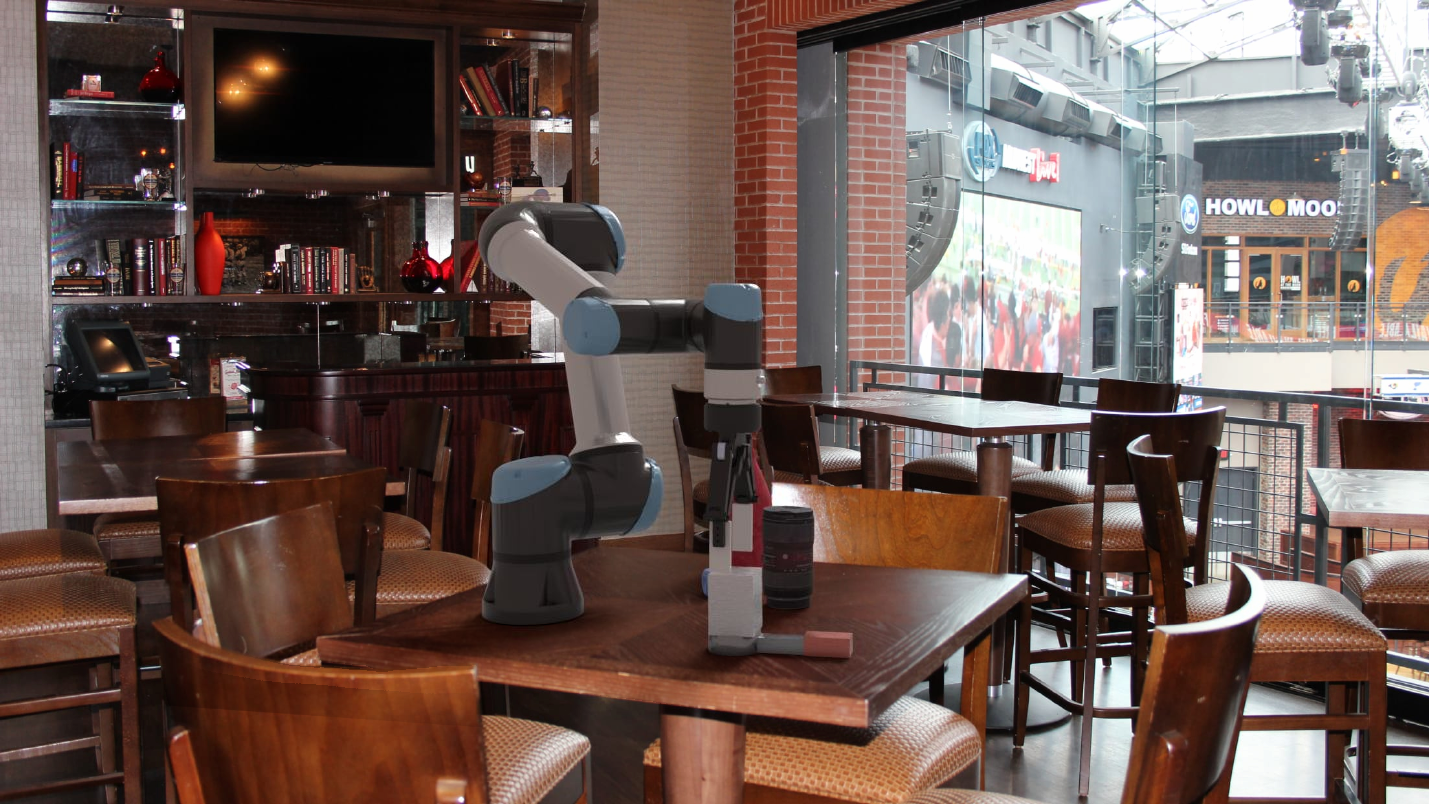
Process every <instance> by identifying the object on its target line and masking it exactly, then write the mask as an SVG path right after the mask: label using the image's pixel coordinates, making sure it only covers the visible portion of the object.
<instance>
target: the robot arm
mask: <svg viewBox="0 0 1429 804" xmlns="http://www.w3.org/2000/svg"><path fill="white" fill-rule="evenodd" d="M478 234H479V235H478V241H477V243H478V245H477V246H478V252H479V254H480V257H481V260H482V262H483V263H484V264H485V266H486V268H488V270H490V272H492V273H493V274H494V275H495V276H497V277H498V278H499V279H500V280H503V281H504V282H508V283H515V284H516V285H517V286H519V288H521V289H522V290H523V291H524V292H526V293H527V294H528V295H529V296H530V297H532V298H533V299H534V300H535V301H536V302H537V303H539V304H540V305H541V306H542V307H544V308H545V309H546V310H547V311H549V312H550V313H551V314H552V315H553V316H555V317H556V318H557V319H558V325H559V330H560V332H559V333H560V337H561V338H560V339H561V345H562V352H563V357H564V364H565V372H566V380H567V385H568V393H569V399H570V407H571V413H572V419H573V420H572V421H573V426H574V427H573V428H574V434H575V439H576V440H575V441H576V444H575V446H574V447H573V449H572V450H571V451H570V453H569V454H568V457H567V456H566V455H563V454H562V455H561V454H547V455H542V456H538V455H537V456H532V457H531V456H530V457H526V458H521V459H520V458H519V459H516V460H512V461H509V462H507V463H503V464H501V465H500V466H498V467H497V468H496V469H495V470H494V472H493V474H492V478H491V492H490V493H491V494H490V502H491V527H492V528H491V531H492V532H491V533H492V567H491V571H490V573H489V577H488V581H487V584H486V587H485V591H484V595H483V596H482V600H481V614H482V615H481V616H482V618H483V619H485V620H486V621H489V622H492V623H497V624H502V625H504V624H505V625H512V626H513V625H518V626H527V625H528V626H530V625H545V624H554V623H561V622H564V621H565V622H566V621H569V620H573V619H577V618H578V617H580V616H581V615H582V614H584V611H585V604H584V603H585V602H584V595H583V592H582V589H581V586H580V584H579V580H578V577H577V575H576V571H575V569H574V566H573V561H572V541H576V540H578V541H579V540H585V539H587V540H588V539H592V538H593V539H594V538H604V537H613V536H619V537H624V536H627V535H630V534H634V533H636V534H637V533H642V532H644V531H646V530H648V529H650V528H651V527H652V526H653V525H654V523H655V522H656V520H657V519H658V517H659V513H660V512H661V510H662V506H663V503H664V502H663V501H664V492H665V490H664V488H665V485H664V484H665V483H664V477H663V474H662V470H661V468H660V467H659V465H658V463H657V462H656V461H655V460H654V459H653V458H649V457H647V456H645V454H644V448H643V443H641V442H640V441H639V440H637V439H636V438H634V437H633V436H632V433H631V427H630V422H629V421H630V420H629V415H628V409H627V408H628V407H627V401H626V394H625V389H624V382H623V376H622V370H621V363H620V357H619V356H621V355H622V356H624V355H625V356H626V355H667V354H668V355H671V354H674V355H675V354H680V355H681V354H685V355H687V354H698V355H704V367H703V368H704V372H703V375H704V377H703V378H704V379H703V380H704V381H703V397H704V398H705V399H706V400H708V402H706V403H705V404H704V405H703V418H704V419H703V427H704V430H706V431H708V432H710V433H717V434H718V435H719V437H718V442H712V445H711V463H710V469H709V480H708V487H707V489H708V490H707V498H706V507H705V512H704V513H702V521H703V522H709V535H708V536H709V537H708V538H709V552H708V553H709V555H708V556H709V562H708V563H709V567H708V568H709V572H727V573H730V572H731V539H732V551H748V552H751V551H752V535H753V504H750V503H758V500H759V496H758V495H755V494H756V487H755V477H754V467H753V456H752V440H753V435H752V436H751V433H752V434H753V433H756V432H759V431H760V430H761V428H762V405H761V404H760V402H757V401H758V400H760V399H761V398H762V385H763V384H765V383H766V381H767V380H766V377H765V376H763V375H761V374H762V359H763V358H762V355H763V319H764V312H763V305H762V303H763V301H762V291H761V288H760V287H759V286H758V285H757V284H754V283H709V284H708V285H707V286H706V287H705V290H704V298H690V297H673V298H672V297H670V298H668V297H667V298H666V297H665V298H664V297H663V298H662V297H661V298H656V297H654V298H653V297H651V298H649V297H648V298H647V297H645V298H643V297H620V296H618V295H617V294H616V293H614V292H613V291H611V289H612V288H613V286H614V285H615V283H617V274H619V273H620V272H621V271H622V269H623V266H624V265H625V260H626V257H625V255H624V254H626V251H627V248H626V247H627V245H626V244H627V243H626V237H625V232H624V229H623V226H622V224H621V222H620V220H619V218H618V217H617V216H616V214H615V213H614V212H613V211H611V210H610V209H609V208H608V207H605V206H602V205H597V204H590V203H588V202H577V203H573V202H559V201H556V202H554V201H537V200H536V201H535V200H523V199H522V200H516V201H510V202H508V203H505V204H503V205H501V206H499V207H498V208H496V209H495V210H494V211H493V212H491V213H490V214H489V215H488V216H487V217H486V218H485V220H484V221H483V224H482V225H481V228H480V231H479V233H478ZM733 495H734V500H735V502H738V503H733V504H732V499H733ZM731 505H732V521H729V519H730V511H731Z"/></svg>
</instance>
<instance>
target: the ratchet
mask: <svg viewBox="0 0 1429 804" xmlns="http://www.w3.org/2000/svg"><path fill="white" fill-rule="evenodd" d="M707 631H708V630H707ZM853 635H854V634H853V632H840V631H839V632H837V631H819V630H818V631H817V630H816V631H815V630H807V631H806V632H805V634H787V633H767V632H766V633H765V632H762V628H761V629H760V630H759V631H758V632H757V634H756V635H755V636H754V637H738V636H718V635H709V631H708V632H707V636H708V637H707V639H708V646H707V647H708V652H709V653H712V654H714V655H719V656H725V655H727V656H728V657H740V656H741V657H742V656H750V655H754V654H757V653H759V654H774V655H775V654H777V655H778V654H780V655H797V656H798V655H800V656H805V657H817V658H818V657H820V658H822V657H823V658H839V659H840V658H842V659H843V658H844V659H850V658H851V657H852V654H853V653H854V650H853V649H854V645H853V644H854V640H853V638H854V637H853Z"/></svg>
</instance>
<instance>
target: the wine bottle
mask: <svg viewBox="0 0 1429 804" xmlns="http://www.w3.org/2000/svg"><path fill="white" fill-rule="evenodd" d="M751 436H752V437H753V432H752V433H751ZM752 456H753V467H754V477H755V487H756V494H755V495H758V496H759V500H758V503H750V504H753V535H752V551H751V552H748V551H732V539H731V566H736V567H762V571H763V563H762V562H761V554H762V553H763V543H762V517H763V516H762V515H763V511H764V508H765V507H769V506H773V501H772V497H771V494H770V490H769V488H768V487H769V486H768V485H767V481H766V480H765V478H764V475H763V472H762V471H761V469H760V466H759V464H758V461H757V456H756V451H755V448H754V441H753V439H752ZM733 503H738V502H735V500H734V495H733V499H732V504H733ZM729 521H732V505H731V511H730V519H729Z"/></svg>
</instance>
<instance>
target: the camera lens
mask: <svg viewBox="0 0 1429 804" xmlns="http://www.w3.org/2000/svg"><path fill="white" fill-rule="evenodd" d="M762 516H763V517H762V543H763V553H762V554H761V562H762V563H763V571H762V591H763V595H764V596H765V597H766V606H768V607H769V608H773V609H777V610H797V609H803V608H807V607H809V606H810V604H811V596H812V595H813V591H814V590H813V589H814V588H813V587H814V582H815V580H814V579H815V576H814V575H815V571H814V544H815V533H816V532H815V522H816V521H815V514H814V509H813V508H811V507H806V506H797V505H772V506H769V507H765V508H764V511H763V515H762Z"/></svg>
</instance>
